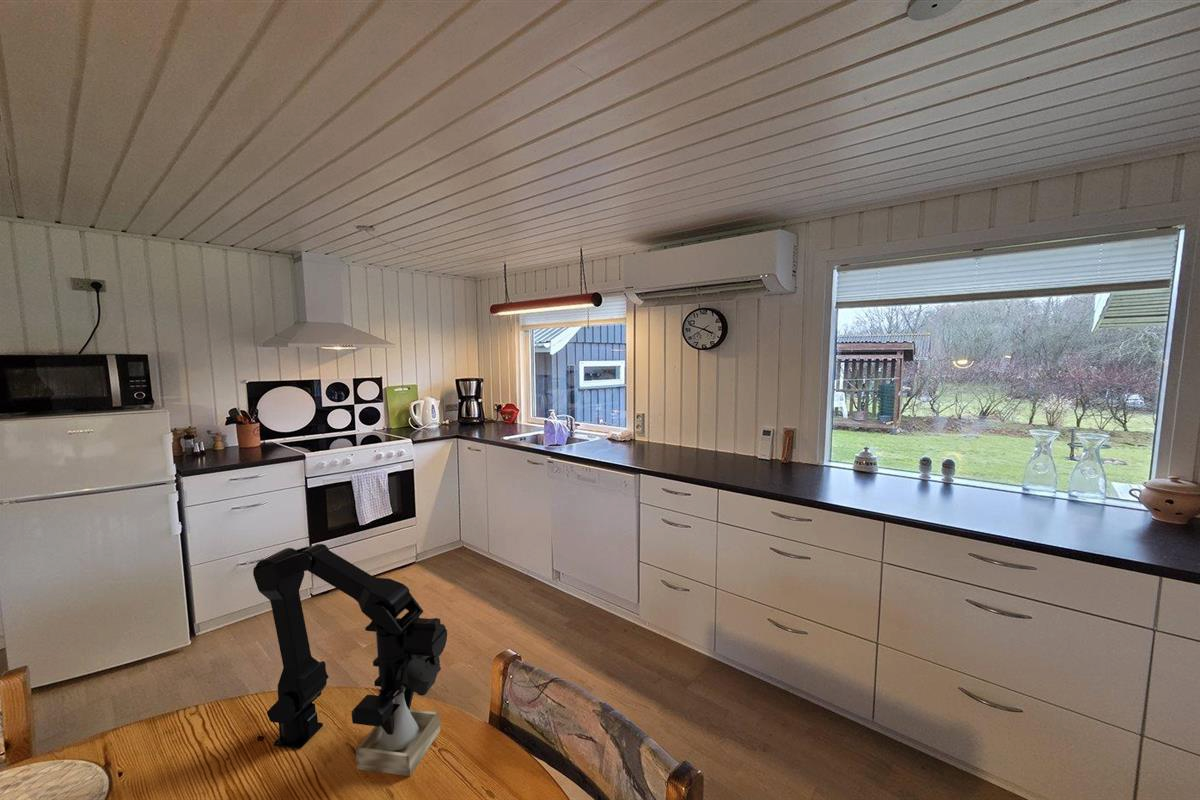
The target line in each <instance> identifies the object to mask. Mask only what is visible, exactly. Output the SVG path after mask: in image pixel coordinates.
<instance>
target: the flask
mask: <svg viewBox="0 0 1200 800" xmlns="http://www.w3.org/2000/svg"><path fill="white" fill-rule="evenodd" d="M404 691H405V687H404V688H403V689H402V690H401V691H398V692H397V693H396V694H395V695H394V696H395V700H394V703H395V704H400V706H399V707H398V709H397V710H396V711H395V712H394V731H393V734H392V735H389V734H387V733H386V732H385V730H384V729H383V732H382V735H381V738H380V742H379V746H381V747H382V748H384V749H385V750H387V751H391V750H400V749H404V748H405V747H406V746H407V745H409V744H410V743H411V742H412V741H413V740H415V739H416V736H417V733H418V730H419V727H418V725H417V723H416V722H415V720H414V718H413V717H412V715H411V713H410V711H409V709H408V707H407V705H406V702H405V699H404Z"/></svg>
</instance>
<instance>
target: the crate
mask: <svg viewBox="0 0 1200 800" xmlns="http://www.w3.org/2000/svg"><path fill="white" fill-rule="evenodd" d="M409 711H410V713H411V715H412V717H413V718H414V720H415V722H416V723H417V725H418V727H419V730H418V733H417V736H416V739H415V740H413V741H412V742H411V743H410V744H409V745H407V746H406V747H405V748H404V749H400V750H391V751H387V750H385V749H384V748H382V747H381V746H379V742H380V738H381V735H382V732H383V728H382V727H381V725H380V726H378V727H377V726H373V728H372V729H371V731H370V732H369V733H368V734H367V735H366V737H365V738H364V739H363V740H362V742H360V744H359V745H358V746H357V747H356V748H355V759H356V769H357V770H362V771H369V772H370V771H371V772H377V773H384V774H389V775H390V774H392V775H398V776H404V777H405V776H406V777H411V776H412V774H413V773H414V771H415V770H416V769H417V767H418V765H419V764H420V762H421V760H422V759H423V758H424V756H425V754H426V753H427V752H428V750H429V749H430V747H431V745H432V744H433V743H434V741H435V740H436V738H437V736H438V735H439V734H440V732H441V723H440V721H441V719H440V712H437V711H429V710H428V711H427V710H419V709H411V708H410V710H409Z"/></svg>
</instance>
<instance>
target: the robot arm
mask: <svg viewBox="0 0 1200 800" xmlns="http://www.w3.org/2000/svg"><path fill="white" fill-rule="evenodd" d="M306 571H307V572H310V573H311V574H312V575H314V576H315V577H318V578H319V579H321V580H323V581H324V582H326V583H327V584H328V585H330V586H332V587H334V588H336V589H337V590H339V591H341V592H342V593H344V594H346V596H347V595H348V597H350V598H352V599H353V600H355V601H356V602H357V603H358V605H359V609H360V610H361V613H362V614H364V615H365V616H366V617H367V618H368V619H369V620H371V622H369V624H368V625H367V626H366V627H365V628H364V630H365V632H373V633H375V638H376V653H377V657H375V658H374V660H373V661H372V666H373V667H377V668H378V676H377V678H376V679H375V680H374V687H380V689H379V690H378V695H374V694H367V695H365V696H364V697H363V698H362V699H361V700H360V701H359V703H357V705H355V707H354V708H353V709H352V710H351V711H350V712H351V722H352V724H354V725H361V726H369V727H370V726H371V727H375V726H377V727H378V726H380V725H381V727H382V728H383V729H384V730H385V732H386V733H387V734H389V735H392V734H393V731H394V712H395V711H396V710H397V709H398V707H399V706H400V704H395V703H394V700H395V696H394V695H395V694H396V693H397V692H398V691H401V690H402V689H403V688H404V687H405V691H404V699H405V702H406V705H407V707H408V709H409V710H410V709H411V706H412V701H413V698H414V697H413V696H414V693H416V694H417V695H419V696H426V694H428V692H429V690H430V689H431V687H432V686H433V685H434V684H435V682H436V679H437V676H438V674H439V672H440V671H441V670H442V668H441V664H440V663H441V660H440V656H441V655H442V654H443V652H444V649H445V647H446V644H447V639H448V629H446V626H445V624H443V623H441V619H440V617H439V618H437V617H434V618H433V617H432V618H425V617H424V618H422V617H420V616H421V615H422V614H423V613H424V610H423V608H422V607H421V606H420V605H419V603H418V602H417V600H416V599H415V598H414V597H413V595H412V593H411V592H410V589H409V587H408V586H407V585H405V584H404V583H401V582H399V581H396V580H394V579H392V578H387V577H376V576H373V575H372V574H370V573H368V572H367V571H365V570H363V569H362V568H360V567H358V566H356V565H355V564H353V563H352V562H349V561H348V560H347V559H344V558H343V557H341V556H340V555H338V554H336V553H335V552H333V551H331V550H330V549H329V547H328V546H327V545H326V544H323V543H316V544H314V545H312V546H311V545H309V546H304V547H300V548H298V549H294V548H293V547H287V548H283V549H282V550H280V551H278V552H275V553H273V554H271V555H270V556H267V557H265V558H263V559H261V560H259V561H258V562H257V563H256V565H255V566H254V567H253V570H252V575H253V579H254V581H255V584H256V587H257V590H258V592H259V593H260V594H261V595H263V596H264V598H266V599H268V600H269V602H270V605H271V610H272V616H273V621H274V626H275V631H276V635H277V642H278V646H279V651H280V657H281V662H282V671H281V674H280V677H279V680H278V682H277V701H276V702H275V703H274V704H273V705H272V706H271V707H270V708H269V709H268V710H267V712H266V715H267V717H268V719H269V721H270V723H278V731H279V737H278V738H276V739H275V741H273V746H274V747H275V746H276V747H279V748H280V747H282V748H290V749H297V750H299V749H302V748H303V747H304V746H305V745H306V744H307V743H308V742H309V741H310V740H311V739H312V737H314V735H316V734H317V732H318V731H320V730H321V728H323V726H324V724H323V722H321V721H319V719H318V712H317V711H316V703H314V701H316V699H318V698H320V696H321V695H322V692H323V690H324V689H325V687H326V686H327V682H328V681H327V680H328V679H329V678H330V677H329V675H328V673H327V668H326V667H327V666H326V665H327V664H326V661H324V660H322V661H319V660H317V659H316V658H314V657H313V656H312V652H311V647H310V642H309V637H308V631H307V627H306V621H305V615H304V611H303V606H302V602H301V601H302V600H301V595H300V589H301V586H302V583H303V580H304V577H305V572H306ZM405 610H406V611H407V612H406V613H405V614H404V615H403V616H402V617H399V616H400V615H401V614H402V613H403V612H404V611H405Z"/></svg>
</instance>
